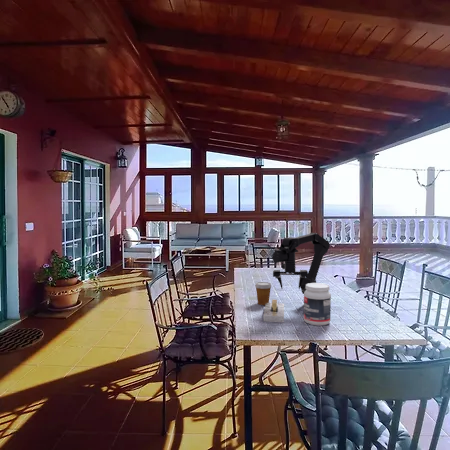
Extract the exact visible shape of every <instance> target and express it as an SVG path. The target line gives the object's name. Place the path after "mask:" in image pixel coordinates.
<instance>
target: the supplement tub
mask: <svg viewBox="0 0 450 450" xmlns="http://www.w3.org/2000/svg"><path fill="white" fill-rule="evenodd" d="M305 288H306V291H305V292H304V294H303V321H304V322H305V323H307V324H309V325H312V326H317V327H318V326H321V327H322V326H326V325H329V324H330V323H331V321H332V320H331V314H332V313H331V308H332V306H331V299H332V298H331V297H332V294H331V292H330V291H329V290H331V289H330V284H328V283H322V282H316V283H308V284H306V287H305Z"/></svg>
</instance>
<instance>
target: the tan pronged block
mask: <svg viewBox="0 0 450 450" xmlns="http://www.w3.org/2000/svg"><path fill="white" fill-rule="evenodd" d="M271 303H272V308H273V312H276V308H277V303H278V299H271Z"/></svg>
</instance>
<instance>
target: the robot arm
mask: <svg viewBox="0 0 450 450" xmlns="http://www.w3.org/2000/svg"><path fill="white" fill-rule="evenodd" d="M310 242H311V244H312V245H313V252H314V254H313V257H312V260H311V263H310V267H309V270H307V269H300V270H299V271H296V253H298V252H299V250H298V249H297V248H298V247H299V246H301V245H303V244H307V243H310ZM330 246H331V244H330V242H329V240H327V239H326V238H324V237H322V236H321V235H320V234H319V233H317V232H310V233H307V234H304V235H300V236H297V237H284V238H283V240H282V242H281V244H280V246H279V248H278V249H274V252H273V253H272V255H271V259H272V261H273V262H274V263H275V264H278V263H281V268H282V270H284V271H281V270H280V269H273V270H272V277H274V278H275V279H277V281H278V283H279V285H280V287H281V289H283V281H282V276H299V279H298V280H299V281H298V290H301V293H302V294H303V295H304V292H305V291H306V288H305V287H306V284H308V283H317V276H318V273H319V269H320V266H321V263H322V260H323V257H324V255H325V254H327V253H328V251H329V249H330Z"/></svg>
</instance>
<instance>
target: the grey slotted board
mask: <svg viewBox="0 0 450 450" xmlns="http://www.w3.org/2000/svg"><path fill="white" fill-rule="evenodd" d="M264 306H265V307H264V311H263V312H264V313H263V322H264V323H282V324H283V323H285V303H281V302H277V308H276V312H273V308H272V302H269V303H266V305H264Z"/></svg>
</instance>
